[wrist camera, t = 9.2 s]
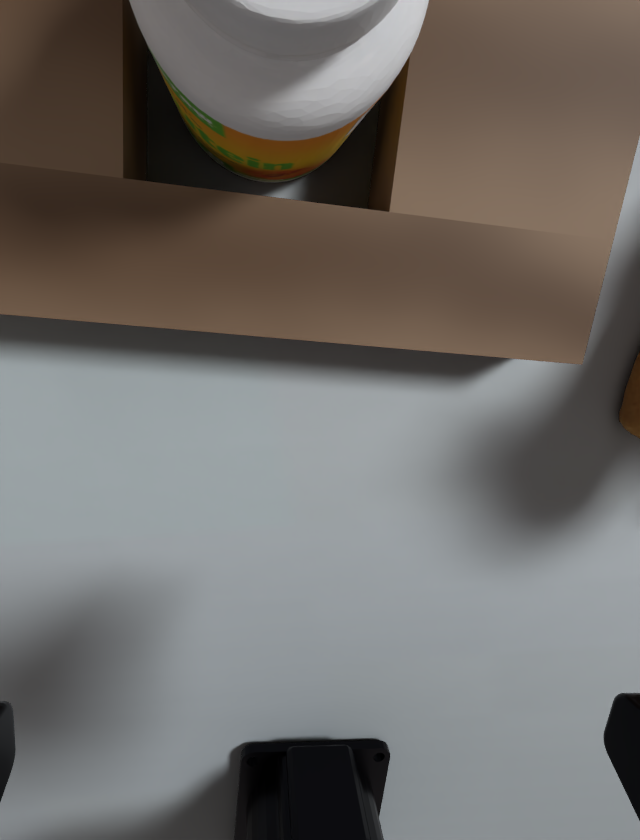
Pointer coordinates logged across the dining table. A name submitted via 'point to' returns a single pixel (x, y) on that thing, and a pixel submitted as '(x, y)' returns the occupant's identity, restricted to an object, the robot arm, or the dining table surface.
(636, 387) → the stuffed squirrel
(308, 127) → the supplement bottle
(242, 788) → the robot arm
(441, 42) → the socket board
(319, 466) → the dining table surface
